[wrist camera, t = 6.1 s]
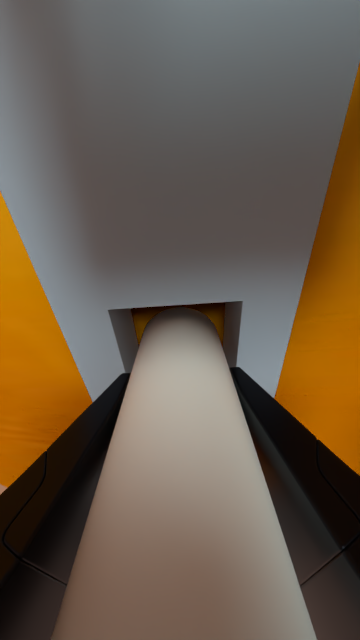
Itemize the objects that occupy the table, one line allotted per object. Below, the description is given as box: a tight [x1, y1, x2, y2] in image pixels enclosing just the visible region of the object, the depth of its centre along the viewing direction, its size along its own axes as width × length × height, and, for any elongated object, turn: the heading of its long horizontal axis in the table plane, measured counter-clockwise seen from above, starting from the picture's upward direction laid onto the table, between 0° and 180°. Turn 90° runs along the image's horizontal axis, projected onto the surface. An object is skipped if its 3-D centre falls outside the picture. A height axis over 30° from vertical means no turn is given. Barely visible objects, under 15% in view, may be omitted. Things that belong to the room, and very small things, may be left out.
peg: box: [51, 307, 317, 640], centre depth 6 cm, size 4×4×9 cm
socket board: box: [0, 0, 360, 402], centre depth 9 cm, size 18×10×3 cm, turn 4°
